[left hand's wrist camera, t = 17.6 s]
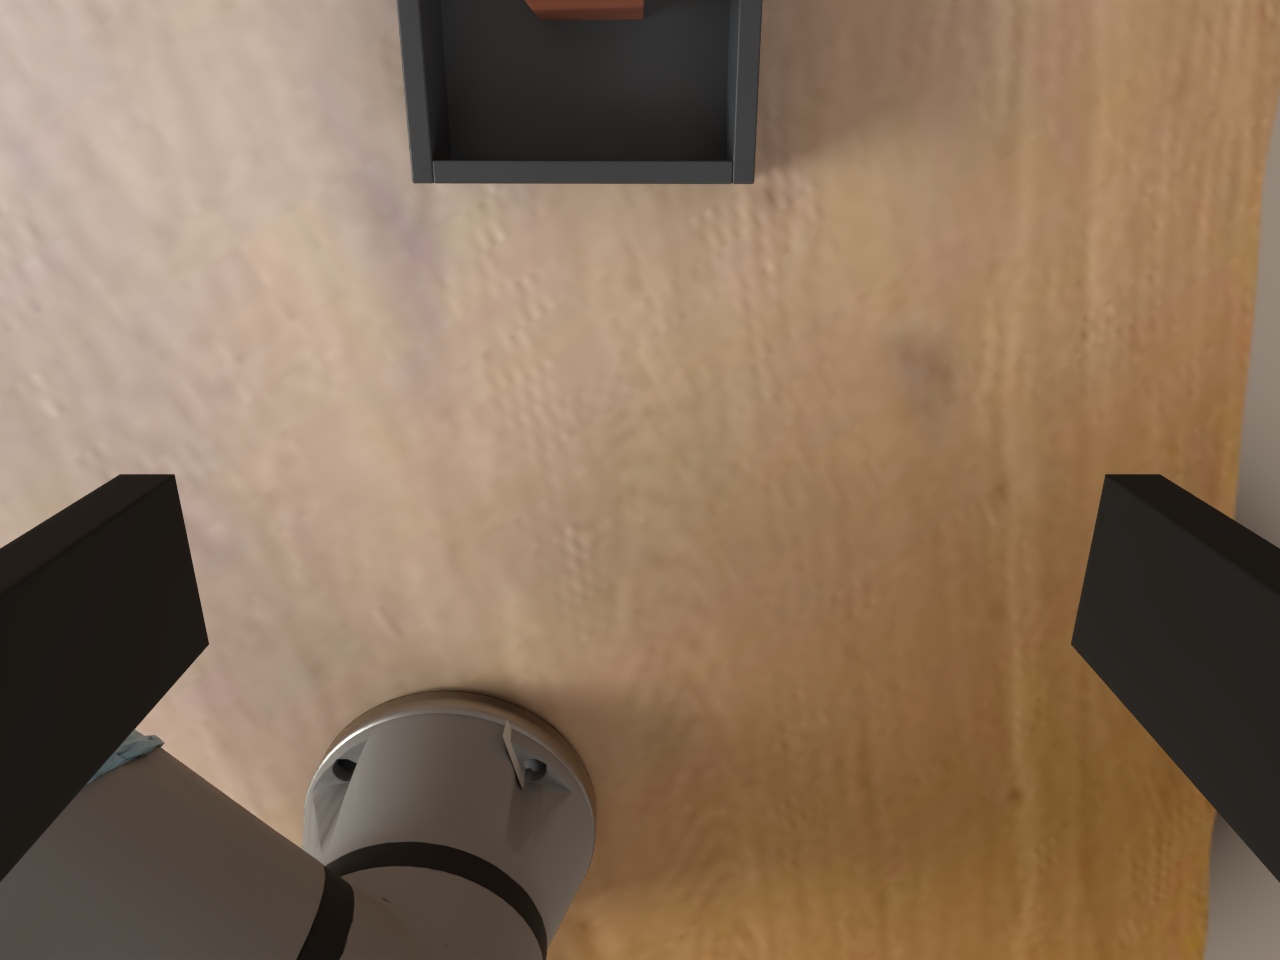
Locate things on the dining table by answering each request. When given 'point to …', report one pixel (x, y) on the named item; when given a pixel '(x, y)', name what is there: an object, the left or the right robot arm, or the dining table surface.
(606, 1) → the block
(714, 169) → the tray
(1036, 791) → the dining table surface
